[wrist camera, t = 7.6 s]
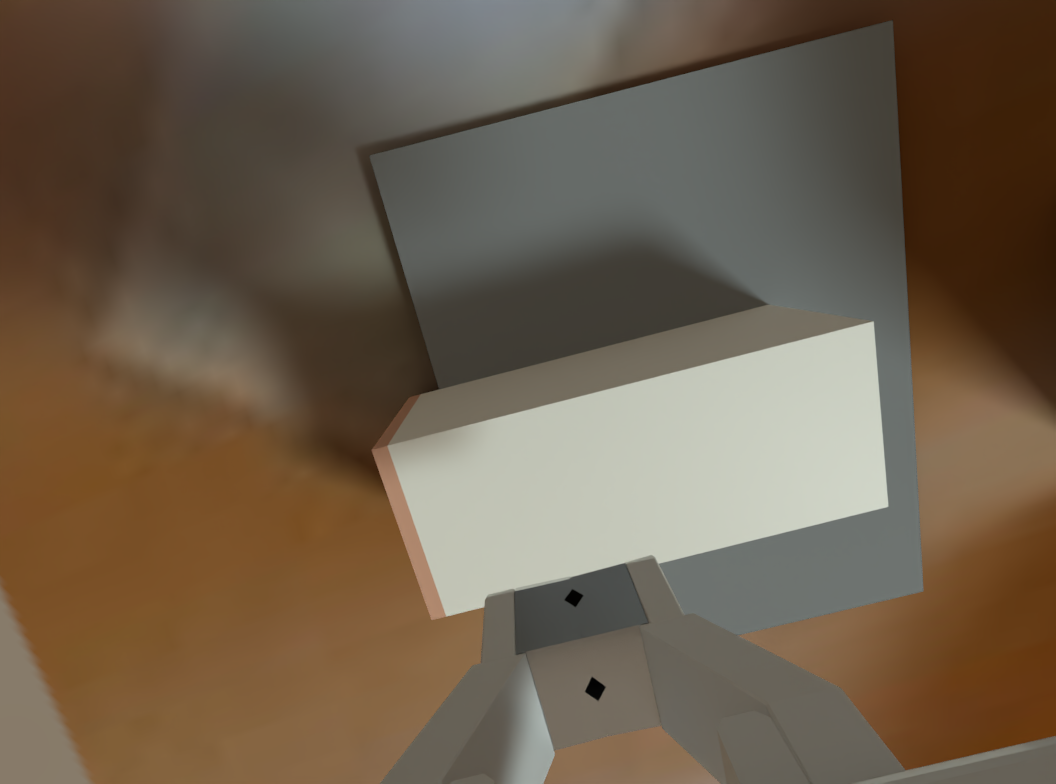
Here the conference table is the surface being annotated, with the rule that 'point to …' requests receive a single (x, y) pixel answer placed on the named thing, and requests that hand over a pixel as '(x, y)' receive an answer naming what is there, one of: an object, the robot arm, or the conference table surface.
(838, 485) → the tall block
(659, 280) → the mat
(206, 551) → the conference table surface
